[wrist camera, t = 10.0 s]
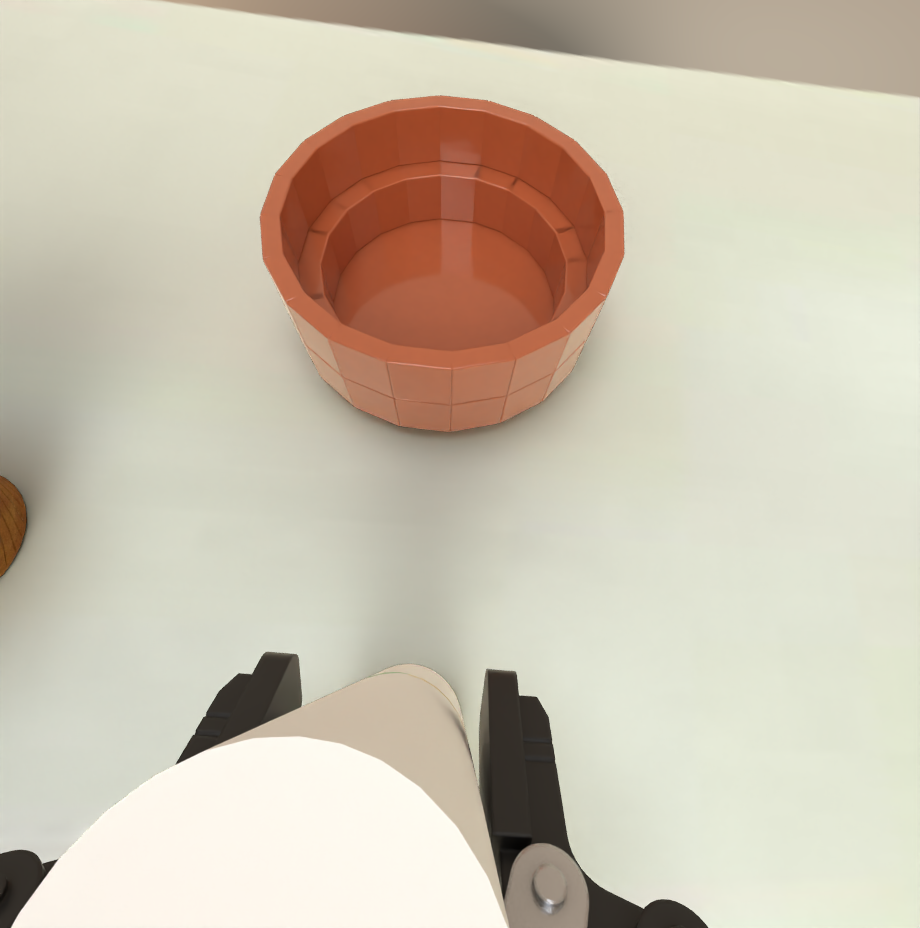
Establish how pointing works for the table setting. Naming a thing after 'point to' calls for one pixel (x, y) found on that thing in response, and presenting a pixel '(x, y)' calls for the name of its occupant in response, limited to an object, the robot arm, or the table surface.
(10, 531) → the disposable coffee cup
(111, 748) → the table surface
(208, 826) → the tube
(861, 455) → the table surface
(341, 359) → the bowl
